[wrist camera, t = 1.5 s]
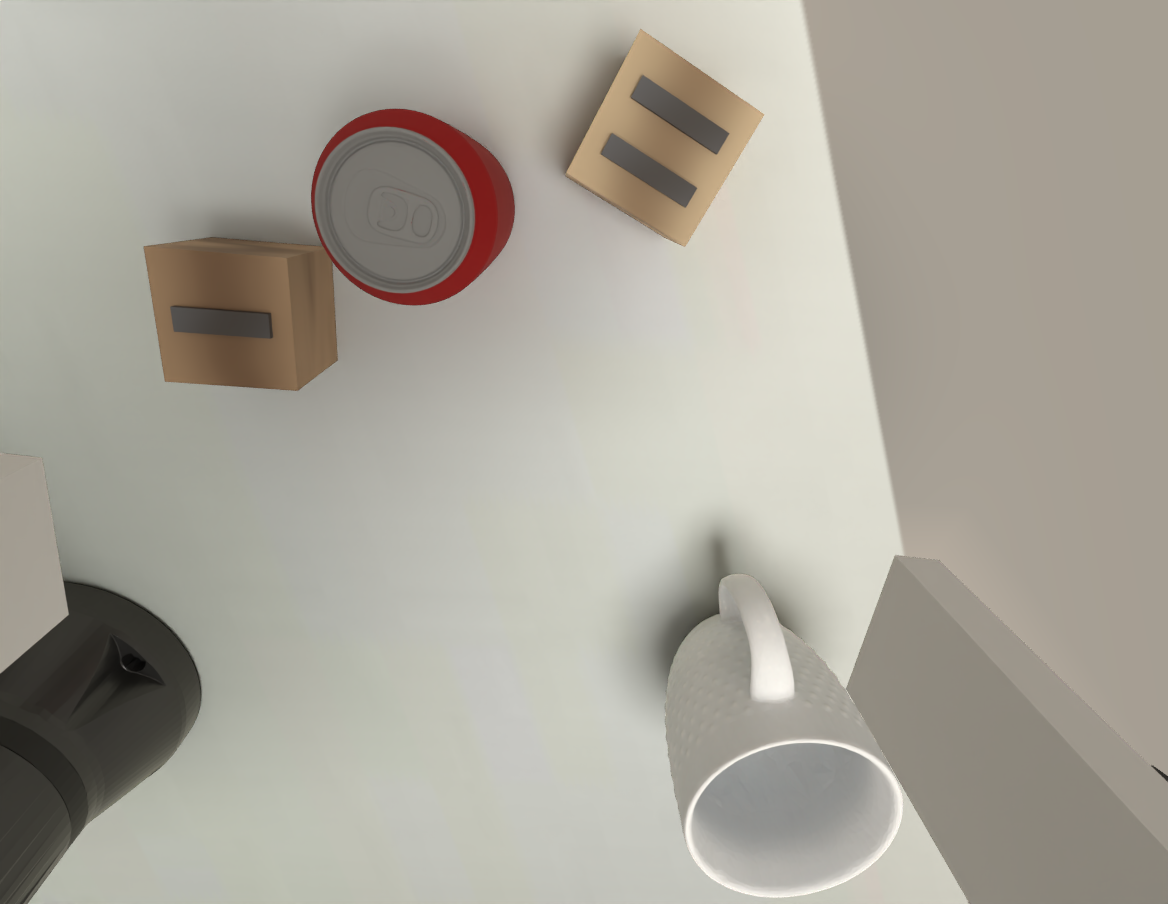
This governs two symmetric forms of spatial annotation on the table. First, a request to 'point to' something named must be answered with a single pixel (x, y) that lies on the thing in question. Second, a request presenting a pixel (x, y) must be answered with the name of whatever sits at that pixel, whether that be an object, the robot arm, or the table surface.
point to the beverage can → (410, 206)
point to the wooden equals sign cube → (663, 140)
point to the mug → (772, 756)
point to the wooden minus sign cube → (243, 312)
